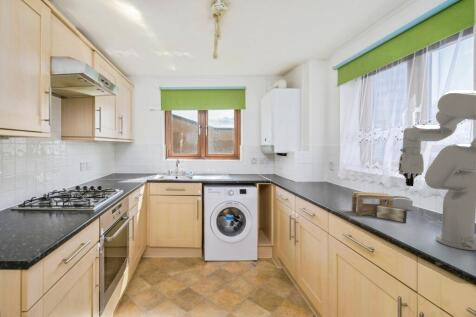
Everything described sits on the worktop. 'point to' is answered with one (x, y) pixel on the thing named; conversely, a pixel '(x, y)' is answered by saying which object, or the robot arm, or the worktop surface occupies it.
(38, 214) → the worktop surface
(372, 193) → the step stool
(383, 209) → the mottled brown block
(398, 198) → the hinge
